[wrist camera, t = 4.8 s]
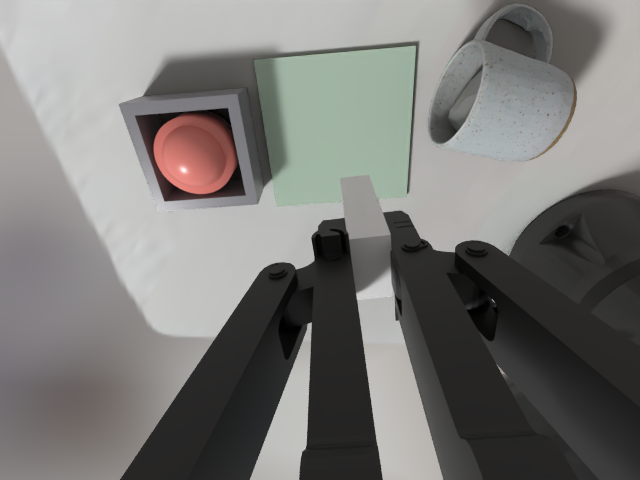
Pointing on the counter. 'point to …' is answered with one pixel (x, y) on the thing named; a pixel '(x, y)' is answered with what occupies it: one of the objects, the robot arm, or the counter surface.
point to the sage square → (337, 122)
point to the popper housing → (146, 110)
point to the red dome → (196, 151)
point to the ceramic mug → (503, 95)
